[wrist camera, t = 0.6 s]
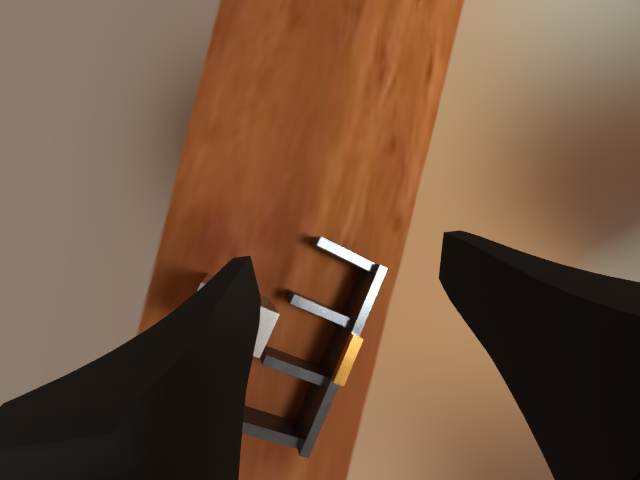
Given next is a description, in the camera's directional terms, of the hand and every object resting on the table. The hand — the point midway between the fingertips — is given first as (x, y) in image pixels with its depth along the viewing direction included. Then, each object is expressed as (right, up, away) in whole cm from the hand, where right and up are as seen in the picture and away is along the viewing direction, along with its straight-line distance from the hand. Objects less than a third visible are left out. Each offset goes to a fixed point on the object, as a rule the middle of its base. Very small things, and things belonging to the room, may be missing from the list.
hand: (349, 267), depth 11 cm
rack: (-3, -10, +22) cm, 24 cm away
